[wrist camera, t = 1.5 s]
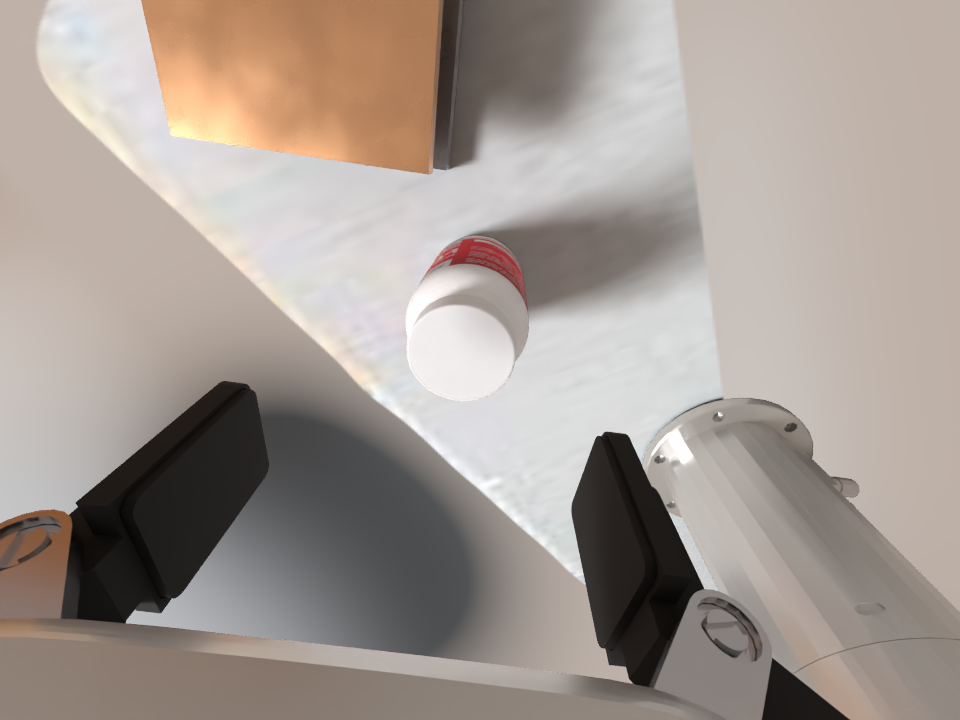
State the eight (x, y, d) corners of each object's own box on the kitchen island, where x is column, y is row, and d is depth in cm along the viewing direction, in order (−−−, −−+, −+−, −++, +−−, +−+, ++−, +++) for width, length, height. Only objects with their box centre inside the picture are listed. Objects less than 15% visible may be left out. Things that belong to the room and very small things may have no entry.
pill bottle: (455, 216, 24) (421, 257, 14) (540, 261, 25) (562, 328, 15) (418, 299, 27) (368, 382, 17) (495, 337, 28) (491, 435, 18)
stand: (472, -98, 17) (453, -244, 11) (449, 169, 23) (428, 174, 16) (232, -136, 17) (73, -307, 11) (265, 141, 22) (171, 135, 16)
